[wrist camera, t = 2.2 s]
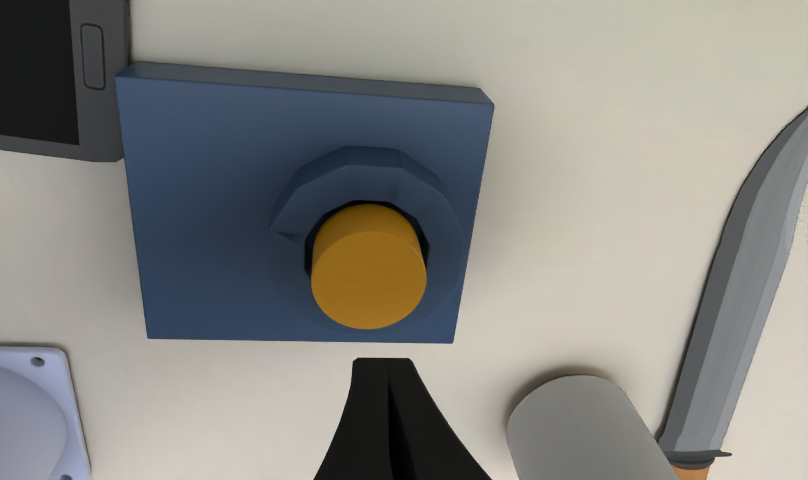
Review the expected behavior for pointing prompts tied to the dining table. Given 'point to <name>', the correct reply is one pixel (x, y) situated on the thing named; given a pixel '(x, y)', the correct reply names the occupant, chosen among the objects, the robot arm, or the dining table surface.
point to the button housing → (290, 193)
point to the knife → (737, 303)
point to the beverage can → (583, 434)
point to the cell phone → (62, 77)
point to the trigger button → (367, 267)
